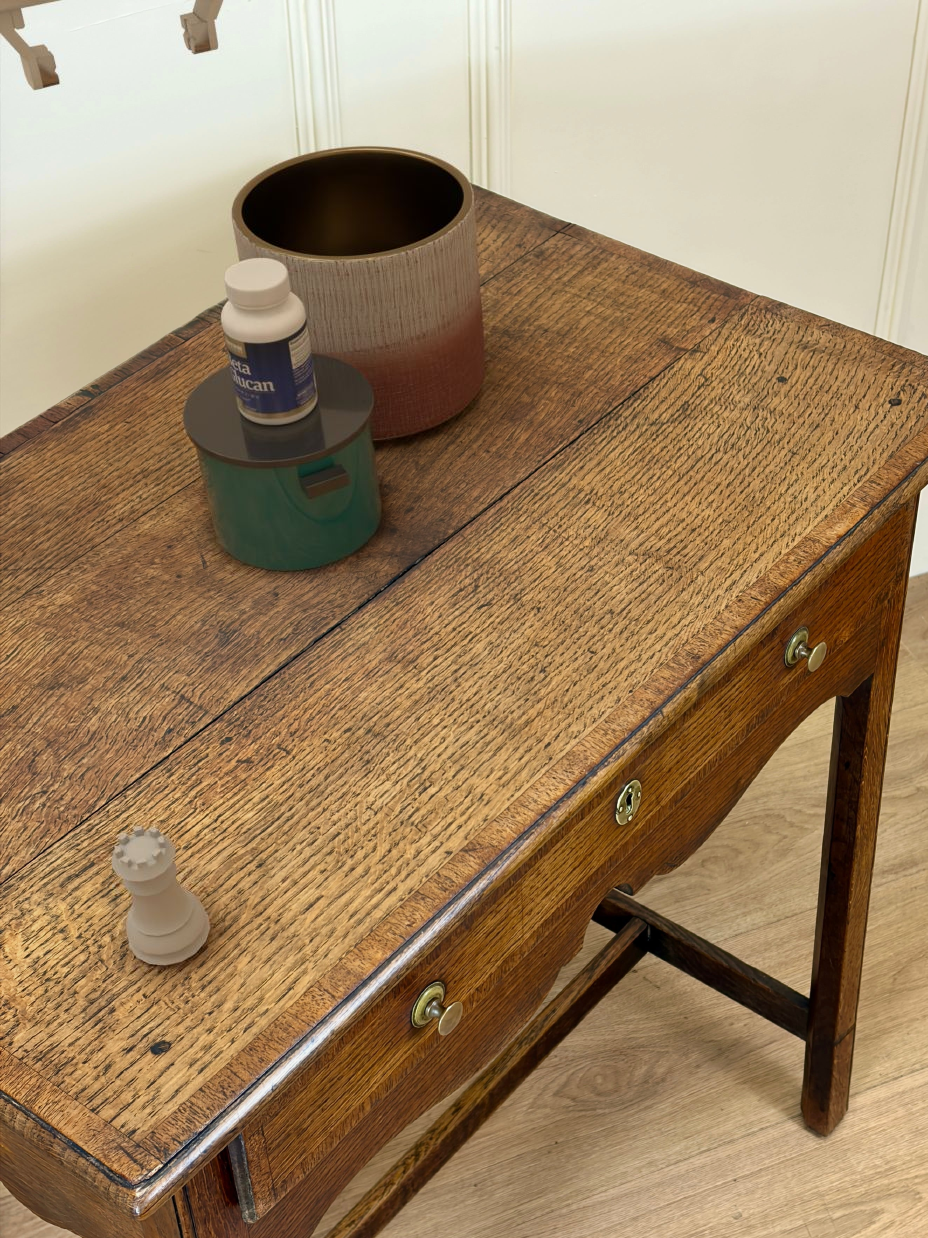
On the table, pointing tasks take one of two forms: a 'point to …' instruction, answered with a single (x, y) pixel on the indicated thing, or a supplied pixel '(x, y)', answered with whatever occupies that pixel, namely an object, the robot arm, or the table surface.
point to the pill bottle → (267, 343)
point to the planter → (378, 272)
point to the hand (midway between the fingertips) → (124, 66)
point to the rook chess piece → (158, 900)
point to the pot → (289, 471)
